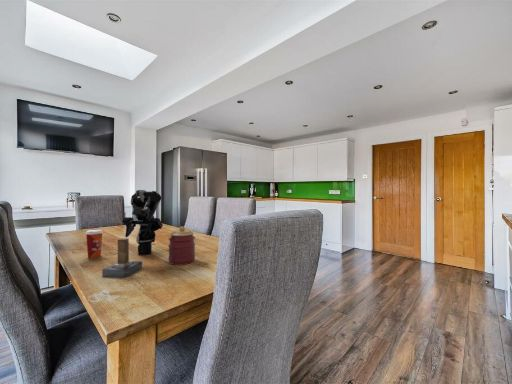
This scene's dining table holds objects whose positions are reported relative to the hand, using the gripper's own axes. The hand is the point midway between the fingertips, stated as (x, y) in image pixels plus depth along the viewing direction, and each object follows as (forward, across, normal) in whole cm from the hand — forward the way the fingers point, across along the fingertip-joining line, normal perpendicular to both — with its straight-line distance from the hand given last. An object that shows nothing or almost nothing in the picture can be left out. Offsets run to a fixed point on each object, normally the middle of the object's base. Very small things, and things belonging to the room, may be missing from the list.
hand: (135, 237), depth 112 cm
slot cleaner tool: (+15, 0, +3) cm, 15 cm away
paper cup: (+2, -31, +17) cm, 35 cm away
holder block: (+15, 0, +4) cm, 16 cm away
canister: (+2, +18, +17) cm, 25 cm away
